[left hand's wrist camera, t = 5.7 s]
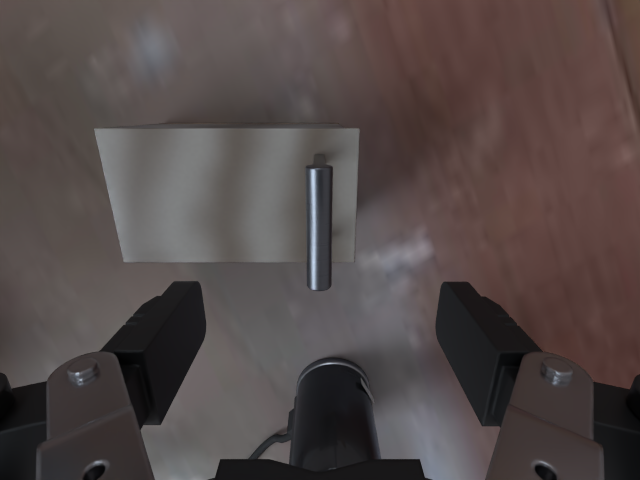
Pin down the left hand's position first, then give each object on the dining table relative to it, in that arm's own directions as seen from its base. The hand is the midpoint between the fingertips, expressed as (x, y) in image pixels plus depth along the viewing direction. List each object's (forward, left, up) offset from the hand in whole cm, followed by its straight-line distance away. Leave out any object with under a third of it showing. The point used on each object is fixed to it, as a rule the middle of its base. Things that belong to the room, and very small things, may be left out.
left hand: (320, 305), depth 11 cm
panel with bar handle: (-4, +5, -15) cm, 16 cm away
